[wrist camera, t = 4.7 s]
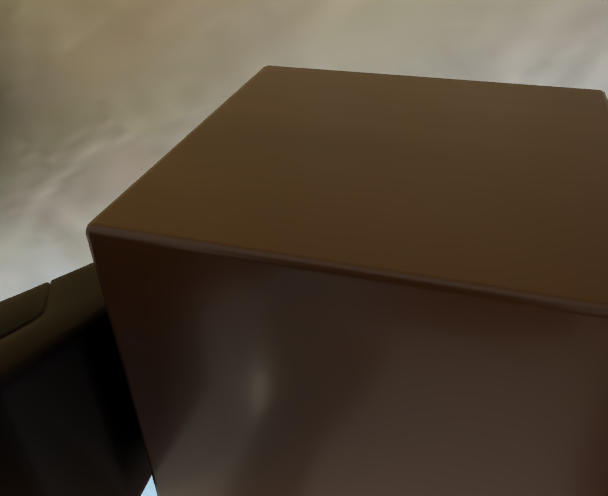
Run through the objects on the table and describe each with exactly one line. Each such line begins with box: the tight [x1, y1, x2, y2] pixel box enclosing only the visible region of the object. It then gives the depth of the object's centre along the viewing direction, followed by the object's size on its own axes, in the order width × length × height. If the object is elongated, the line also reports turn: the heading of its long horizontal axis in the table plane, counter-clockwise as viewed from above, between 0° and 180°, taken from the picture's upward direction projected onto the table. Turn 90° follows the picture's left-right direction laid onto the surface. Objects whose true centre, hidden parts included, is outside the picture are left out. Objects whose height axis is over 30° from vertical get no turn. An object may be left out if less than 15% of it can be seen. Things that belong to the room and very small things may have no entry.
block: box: [86, 66, 608, 496], centre depth 8 cm, size 5×5×5 cm
